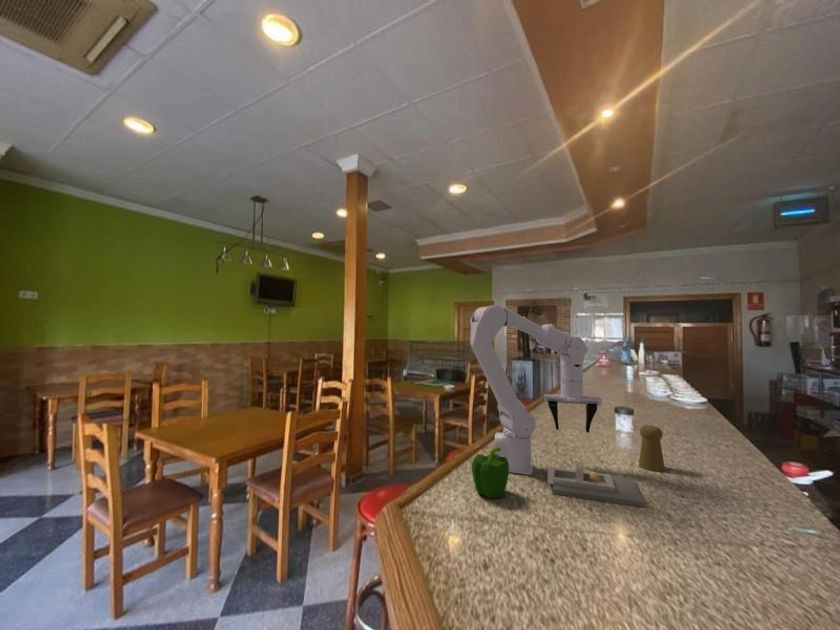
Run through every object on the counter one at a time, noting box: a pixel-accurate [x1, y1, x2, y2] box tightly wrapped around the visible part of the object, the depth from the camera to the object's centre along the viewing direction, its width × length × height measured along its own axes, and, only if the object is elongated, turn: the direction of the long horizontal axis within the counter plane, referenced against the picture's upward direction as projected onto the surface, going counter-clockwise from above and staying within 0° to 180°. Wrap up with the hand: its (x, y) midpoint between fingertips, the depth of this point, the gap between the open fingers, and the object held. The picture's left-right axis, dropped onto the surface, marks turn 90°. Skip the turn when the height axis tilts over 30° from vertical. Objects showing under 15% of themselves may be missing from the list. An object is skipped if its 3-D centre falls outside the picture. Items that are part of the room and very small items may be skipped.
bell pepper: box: [471, 447, 510, 499], centre depth 82 cm, size 8×8×10 cm
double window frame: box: [547, 460, 615, 493], centre depth 87 cm, size 14×8×4 cm, turn 70°
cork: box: [638, 425, 666, 473], centre depth 100 cm, size 6×6×11 cm
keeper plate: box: [552, 471, 646, 509], centre depth 86 cm, size 18×14×3 cm
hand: (572, 430), depth 101 cm, fingers open, 7 cm apart
